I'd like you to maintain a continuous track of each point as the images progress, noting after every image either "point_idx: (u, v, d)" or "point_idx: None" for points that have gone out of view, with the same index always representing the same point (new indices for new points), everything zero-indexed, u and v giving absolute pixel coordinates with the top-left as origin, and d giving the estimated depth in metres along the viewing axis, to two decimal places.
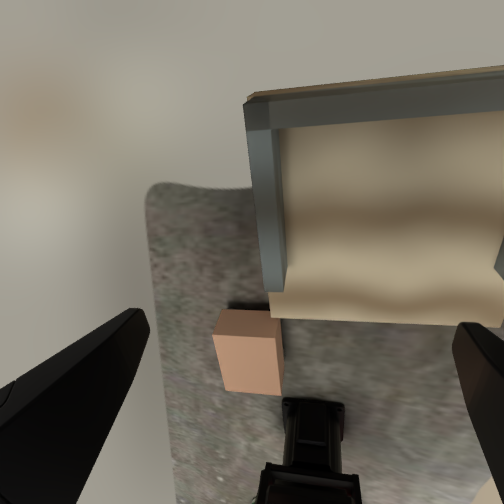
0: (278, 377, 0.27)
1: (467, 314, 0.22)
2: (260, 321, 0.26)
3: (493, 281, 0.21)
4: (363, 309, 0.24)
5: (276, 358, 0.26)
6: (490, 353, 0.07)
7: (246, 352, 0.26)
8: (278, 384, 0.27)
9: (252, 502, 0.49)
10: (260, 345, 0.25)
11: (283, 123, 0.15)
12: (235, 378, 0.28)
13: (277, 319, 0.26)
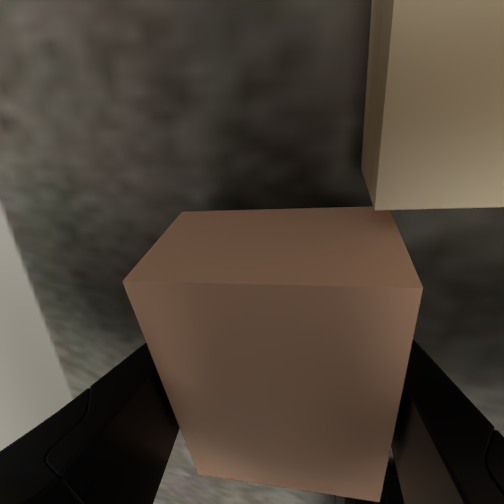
0: (386, 451, 0.07)
1: None
2: (325, 232, 0.07)
3: None
4: None
5: (399, 384, 0.06)
6: None
7: (271, 358, 0.06)
8: (379, 472, 0.08)
9: None
10: (336, 329, 0.06)
11: None
12: (226, 445, 0.08)
13: (392, 226, 0.07)
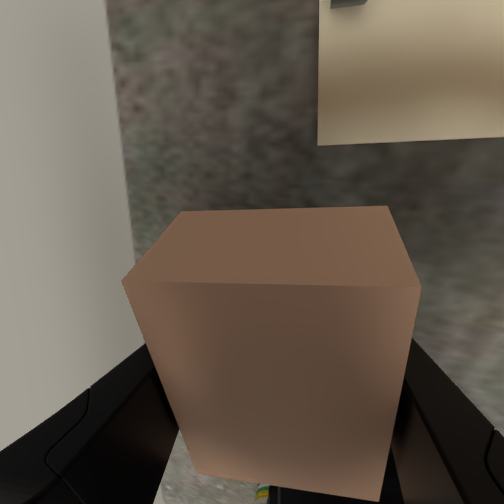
0: (385, 450, 0.07)
1: None
2: (324, 232, 0.07)
3: None
4: (496, 107, 0.13)
5: (398, 384, 0.06)
6: None
7: (270, 358, 0.06)
8: (379, 471, 0.08)
9: (258, 488, 0.38)
10: (335, 328, 0.06)
11: None
12: (225, 445, 0.08)
13: (392, 225, 0.07)
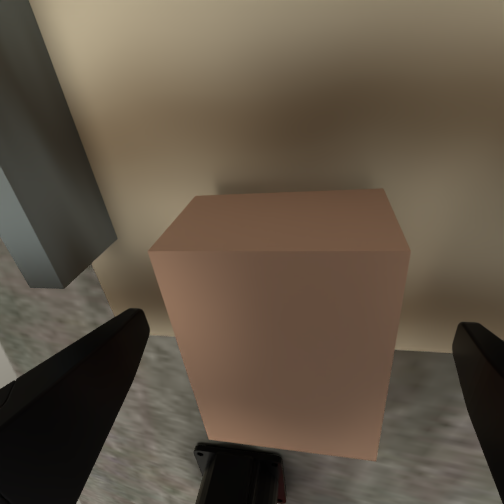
0: (381, 409, 0.08)
1: None
2: (326, 210, 0.07)
3: None
4: None
5: (392, 343, 0.07)
6: (490, 353, 0.07)
7: (278, 322, 0.07)
8: (375, 430, 0.08)
9: None
10: (336, 291, 0.06)
11: None
12: (235, 409, 0.09)
13: (387, 204, 0.07)
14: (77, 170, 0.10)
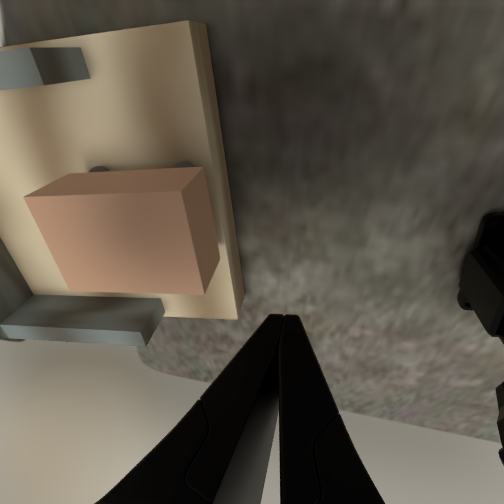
0: (124, 194, 0.13)
1: (175, 86, 0.14)
2: None
3: (110, 70, 0.14)
4: None
5: (72, 196, 0.13)
6: (285, 341, 0.08)
7: (82, 246, 0.14)
8: (144, 195, 0.12)
9: None
10: (54, 222, 0.14)
11: None
12: (161, 274, 0.14)
13: (57, 181, 0.15)
14: (117, 303, 0.21)
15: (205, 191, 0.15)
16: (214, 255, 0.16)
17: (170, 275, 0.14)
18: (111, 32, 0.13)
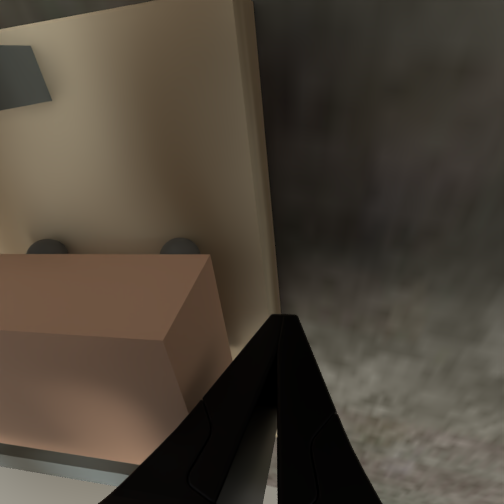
0: (55, 334, 0.07)
1: (201, 112, 0.08)
2: None
3: (85, 85, 0.08)
4: (237, 322, 0.11)
5: None
6: (283, 341, 0.08)
7: (0, 395, 0.08)
8: (93, 340, 0.06)
9: None
10: None
11: None
12: (136, 443, 0.08)
13: None
14: None
15: (212, 295, 0.09)
16: None
17: (151, 447, 0.08)
18: (83, 16, 0.07)
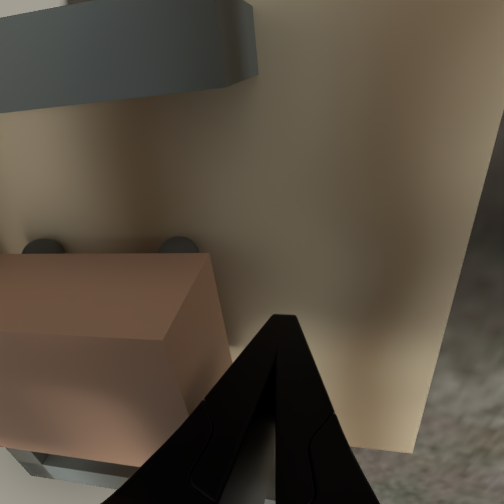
0: (52, 335, 0.06)
1: (450, 86, 0.07)
2: None
3: (309, 55, 0.07)
4: (403, 330, 0.10)
5: None
6: (282, 341, 0.08)
7: None
8: (91, 341, 0.06)
9: None
10: None
11: (30, 455, 0.13)
12: (135, 445, 0.08)
13: None
14: None
15: (211, 295, 0.08)
16: None
17: (150, 448, 0.08)
18: None
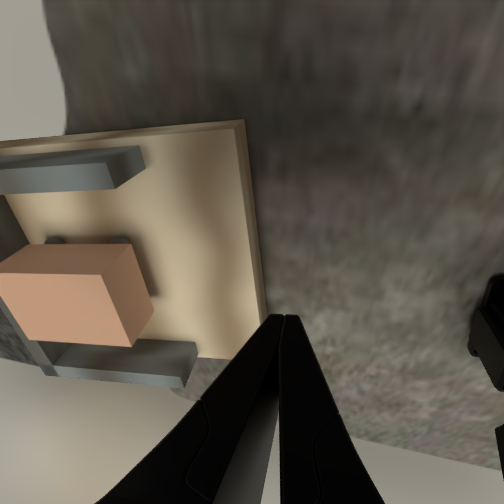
0: (59, 274, 0.16)
1: (219, 176, 0.16)
2: None
3: (163, 162, 0.17)
4: (236, 284, 0.20)
5: (21, 274, 0.17)
6: (285, 341, 0.08)
7: (34, 308, 0.18)
8: (74, 276, 0.16)
9: None
10: (10, 291, 0.18)
11: (46, 359, 0.23)
12: (96, 330, 0.18)
13: (16, 253, 0.19)
14: (156, 346, 0.23)
15: (132, 263, 0.18)
16: (145, 310, 0.20)
17: (103, 331, 0.18)
18: (166, 135, 0.16)
